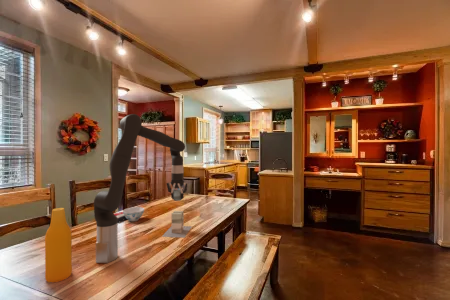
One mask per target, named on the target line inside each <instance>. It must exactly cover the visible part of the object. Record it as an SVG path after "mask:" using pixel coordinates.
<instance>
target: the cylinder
mask: <svg viewBox="0 0 450 300" xmlns="http://www.w3.org/2000/svg"><path fill="white" fill-rule="evenodd" d="M173 192H174V199H173V202H175V201H176V202H178V201H182V200H183V199H181V191H180V189H175V190H174V191H173Z"/></svg>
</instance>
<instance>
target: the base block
mask: <svg viewBox="0 0 450 300" xmlns="http://www.w3.org/2000/svg"><path fill="white" fill-rule="evenodd" d="M184 221H185V220H184ZM184 221H183V222H182V223H181V224H178V223H172V222H171V226H172V233H181V232H182V231H183V230H184V226H185V225H184V224H185V223H184Z"/></svg>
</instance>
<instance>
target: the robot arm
mask: <svg viewBox="0 0 450 300" xmlns="http://www.w3.org/2000/svg"><path fill="white" fill-rule="evenodd" d="M142 123H143V121H142V119H141V117H140V115H138V114H135V113H131V114H128V115H126V116H124V117H123V118H121V120H120V121H119V126H120V129H121V130H122V131H123V132H122V135H121V137H120V139H119V141H118V143H117V145H116V146H115V148H114V150H113V152H112V154H111V157H110V161H109V172H110V178H111V180H110V186H109V190H108V191H107V190H101V191H100V192H98V193H97V194H96V195H95V198H94V199H93V212H94V213H93V214H94V216H93V217H94V220H95V222H96V243H95V263H98V264H108V263H111V262H114V261H115V260H116V259H117V258H118V256H119V251H118V249H119V248H118V246H119V244H118V243H119V240H118V239H119V238H118V232H119V231H118V229H119V228H118V225H119V224H118V223H117V222H118V220H117V217H116V216H115V215H114V214H115V213H114V212H115V211H116V210H118V208H119V207H120V205H121V203H122V198H123V191H124V188H125V183H126V177H127V173H128V170H129V168H130V164H131V162H132V161H131V160H132V156H133V153H134V149H135V145H136V141H137V138H138V137H141V138H144V139H146V140H150V141H152V142H154V143H156V144H158V145H160V146H163V147H166V148H169V152H170V153H169V154H170V157H171V172H170V173H171V181H170V182H167V183H166V187H167V191H168V193H170V194H171V195H170V196H171V197H170V198H171V199H172V200H174V192H173V191H174V190H176V189H178V190H180V191H181V199H182V200H183V199H184V197H185V195H184V194H186V192H187V191H188V188H189V182H185V180H184V157H183V156H182V155H181V152H183V151H185V148H186V144H185V142H184V141H182V140H180V139H178V138H175V137H172V136H170V135H168V134H166V133H164V132H162V131H159V130H156V129H152V128H148V127H146V126H144V125H142ZM171 186H172V187H171Z"/></svg>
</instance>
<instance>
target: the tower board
mask: <svg viewBox="0 0 450 300" xmlns="http://www.w3.org/2000/svg"><path fill="white" fill-rule="evenodd" d="M192 227H193V226H189V225H187V226H186V225H184V230H183V231H182V232H181V233H172V225H171V226H170V227H169V228H168V229H167V230H166V231H165V232H164V234H163V235H162V236H161V238H162V237H163V238H183V239H184V238H186V236H187V234H188V233H189V232H190V230H191V229H192Z"/></svg>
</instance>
